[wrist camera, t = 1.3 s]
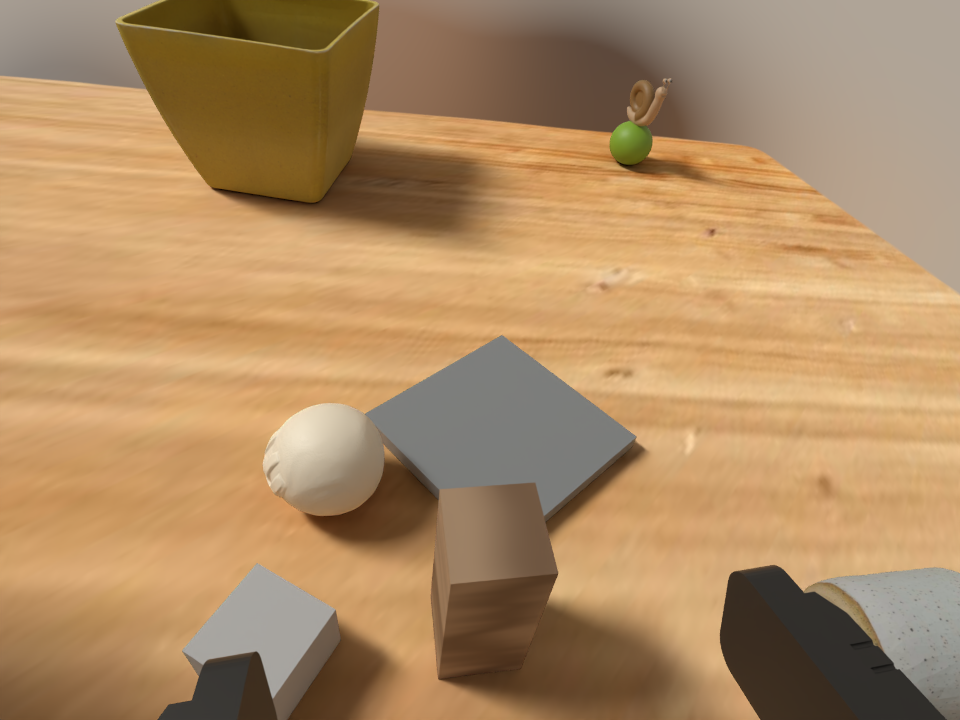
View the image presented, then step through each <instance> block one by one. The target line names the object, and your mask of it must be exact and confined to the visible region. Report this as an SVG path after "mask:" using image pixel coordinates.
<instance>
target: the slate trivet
mask: <svg viewBox="0 0 960 720" xmlns="http://www.w3.org/2000/svg"><path fill="white" fill-rule="evenodd" d="M365 415H366V416H367V417H368V418H369V419H370V420H371V421H372V422H373V423H374V425H375V426H376V428H377V430H378V432H379V434H380V436H381V439H382V443H383V444H384V445H385V446H386V447H387V448H388V449H389V450H390V451H391V452H392V453H393V454H394V455H395V456H396V457H397V458H398V459H399V460H400V461H401V462H402V463H403V464H404V465H405V466H406V467H407V468H408V469H409V470H410V471H411V473H412V474H413V475H414V476H415V477H416V478H417V479H418V480H419V481H420V482H421V483H422V484H423V485H424V486H425V487H426V488H427V489H428V490H429V491H430V492H431V493H432V494H433V495H434V496H435V497H436V498H437V499H438V500H439V492H440V489H450V488H464V487H478V486H492V485H506V484H520V483H534V482H535V483H536V487H537V491H538V495H539V499H540V503H541V507H542V511H543V515H544V519H545V522H546V521H547V520H549V519H550V518H551V517H552V516H553V515H554V514H556V513H557V512H558V511H559V510H560V509H561V508H562V507H564V506H565V505H566V504H567V503H568V502H569V501H571V500H572V499H573V498H574V497H575V496H576V495H577V494H579V493H580V492H581V491H582V490H583V489H584V488H585V487H587V486H588V485H589V484H590V483H591V482H592V481H594V480H595V479H596V478H597V477H598V476H599V475H600V474H602V473H603V472H604V471H605V470H606V469H607V468H609V467H610V466H611V465H612V464H613V463H614V462H615V461H617V460H618V459H619V458H620V457H621V456H622V455H624V454H625V453H626V452H627V451H628V450H629V449H630V448H632V446H633V444H634V442H635V439H636V436H635V435H634V434H632V433H631V432H630V431H628V430H627V429H626V428H624V427H623V426H622V425H620V424H619V423H618V422H616V421H615V420H614V419H612V418H611V417H610V416H608V415H607V414H606V413H604V412H603V411H602V410H600V409H599V408H598V407H596V406H595V405H594V404H593V403H591V402H590V401H589V400H587V399H586V398H585V397H583V396H582V395H581V394H579V393H578V392H577V391H575V390H574V389H573V388H571V387H570V386H569V385H567V384H566V383H565V382H563V381H562V380H561V379H559V378H558V377H557V376H555V375H554V374H553V373H551V372H550V371H549V370H547V369H546V368H545V367H544V366H542V365H541V364H540V363H538V362H537V361H536V360H534V359H533V358H532V357H530V356H529V355H528V354H526V353H525V352H524V351H522V350H521V349H520V348H518V347H517V346H516V345H514V344H513V343H512V342H510V341H509V340H508V339H506V338H505V337H504V336H502V335H501V336H500V337H498V338H496V339H494V340H493V341H491V342H489V343H487V344H486V345H484V346H482V347H480V348H479V349H477V350H475V351H474V352H472V353H470V354H468V355H467V356H465V357H463V358H461V359H460V360H458V361H456V362H454V363H453V364H451V365H449V366H447V367H446V368H444V369H442V370H440V371H439V372H437V373H435V374H433V375H432V376H430V377H428V378H427V379H425V380H423V381H421V382H420V383H418V384H416V385H414V386H413V387H411V388H409V389H407V390H406V391H404V392H402V393H400V394H399V395H397V396H395V397H393V398H392V399H390V400H388V401H386V402H385V403H383V404H381V405H380V406H378V407H376V408H374V409H373V410H371V411H369V412H367V413H366V414H365Z"/></svg>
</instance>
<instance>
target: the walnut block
mask: <svg viewBox="0 0 960 720" xmlns="http://www.w3.org/2000/svg"><path fill="white" fill-rule="evenodd" d="M557 576H558V570H557V566H556V562H555V558H554V554H553V550H552V546H551V542H550V538H549V534H548V530H547V527H546V523H545V519H544V515H543V511H542V507H541V503H540V499H539V495H538V491H537V487H536V483H535V482H534V483H520V484H506V485H492V486H478V487H464V488H450V489H440V492H439V503H438V515H437V527H436V539H435V551H434V563H433V575H432V587H431V605H432V616H433V627H434V638H435V649H436V661H437V672H438V679H443V678H451V677H459V676H467V675H475V674H483V673H491V672H499V671H507V670H515V669H521V667H522V664H523V662H524V659H525V657H526V654H527V652H528V649H529V647H530V644H531V642H532V639H533V636H534V634H535V631H536V629H537V626H538V624H539V621H540V619H541V616H542V614H543V611H544V609H545V606H546V604H547V601H548V598H549V596H550V593H551V591H552V588H553V586H554V583H555V581H556V578H557Z"/></svg>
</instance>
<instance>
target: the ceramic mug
mask: <svg viewBox="0 0 960 720" xmlns="http://www.w3.org/2000/svg"><path fill="white" fill-rule="evenodd" d="M814 591H815V592H816V593H818V594H819V595H821V596H822V597H824V598H825V599H827V600H828V601H830V602H831V603H833V604H834V605H836V606H838V607H839V608H841V609H842V610H844V611H845V612H847V613H848V614H849V615H850V616H851V618H852V619H853V620H854V621H855V622H856V623H857V624H858V625H859V626H860V627H861V628H862V629H863V630H864V631H865V633H866V634H867V635H868V636H869V637H870V638H871V639H872V640H873V644H874V645H875V646H879V648H880V649H881V650H882V651H883V652H884V653H885V654H886V655H887V656H888V657H889V658H890V659H891V660H892V661H893V663H894V666H895V668H896V669H900V670H901V671H902V672H903V673H904V674H905V675H906V676H907V678H908V679H909V680H910V681H911V682H912V683H913V684H914V685H915V686H916V687H917V688H918V689H919V690H920V691H921V693H922V694H923V695H924V696H925V697H926V698H927V699H928V700H929V701H930V702H931V703H932V704H933V705H934V706H935V708H936V709H937V710H938V711H939V712H940V713H941V714H942V715H943V716H944V717H945V718H946V719H947V720H960V573H958V572H955V571H952V570H948V569H944V568H924V569H915V570H907V571H895V572H885V573H878V574H868V575H860V576H845V577H837V578H830V579H827V580H824V581H820V582H817V583H815V584H813V585H811V586H809V587H808V588H807V589H806V590H805V591H804V593H808V592H814Z"/></svg>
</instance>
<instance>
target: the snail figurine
mask: <svg viewBox="0 0 960 720" xmlns="http://www.w3.org/2000/svg"><path fill="white" fill-rule="evenodd" d="M667 82H668V83H669V84H670V83H671V82H672V79H670V78H669V79H668V80H667V79H663V83H664V84H665V83H667ZM667 89H668V88H667ZM667 89H666V88H664V86H663V87H660V88H658V89H657V90H656V93H655V94H654V89H653V87H652V85H651V83H649V82H648V81H646V80H641V81H638V82H637V83H636V84H635V85H634V87H633V88H632V91H631V94H630V105H631V107H628V108H627V114H628V117H629V119H630V121H628V122H625V123H622V124H621V125H619V126H618V127H617V128H616V129H615V130H614V132H613V134H612V136H611V138H610V151H611V154H612V156H613V157H614V158H615V159H616V160H617V161H618V162H620V163H622V164H625V165H634V164H637V163H639V162H641V161H642V160H644V159H645V158H646V157H647V156H648V154H649V152H650V150H651V148H652V135H651V132H650V130H649V129H648V128H647V125H649V124H650V123H651V122H652V121H653V120H654V119H655V117H656V115H657V114H658V112H659V110H660V108H661V105H662V102H663V100H664V98H665V97H666V95H667Z"/></svg>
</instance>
